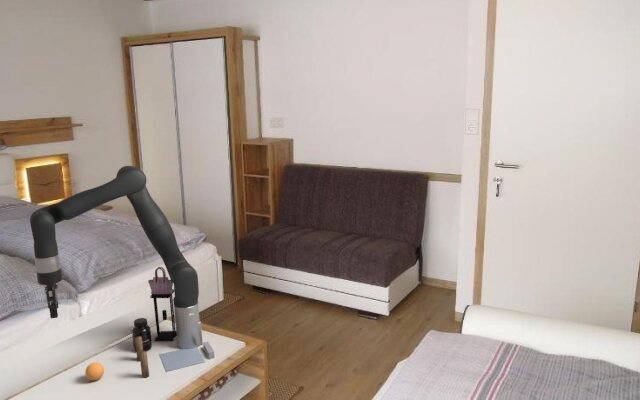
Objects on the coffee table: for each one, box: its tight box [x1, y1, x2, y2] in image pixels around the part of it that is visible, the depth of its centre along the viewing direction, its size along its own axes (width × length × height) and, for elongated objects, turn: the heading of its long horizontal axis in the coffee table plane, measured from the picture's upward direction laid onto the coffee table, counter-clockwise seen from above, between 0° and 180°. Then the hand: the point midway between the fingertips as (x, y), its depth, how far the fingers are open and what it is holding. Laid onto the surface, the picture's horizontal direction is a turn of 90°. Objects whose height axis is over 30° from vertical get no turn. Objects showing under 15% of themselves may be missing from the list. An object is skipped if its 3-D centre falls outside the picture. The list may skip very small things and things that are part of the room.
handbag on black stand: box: [147, 266, 177, 342], centre depth 211 cm, size 10×8×30 cm
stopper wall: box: [202, 341, 215, 360], centre depth 200 cm, size 2×9×2 cm, turn 26°
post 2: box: [140, 351, 150, 379], centre depth 184 cm, size 2×2×9 cm
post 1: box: [135, 336, 143, 363], centre depth 195 cm, size 2×2×9 cm
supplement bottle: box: [131, 317, 153, 352], centre depth 203 cm, size 7×7×12 cm
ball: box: [84, 362, 105, 382], centre depth 183 cm, size 6×6×6 cm
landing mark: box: [159, 347, 206, 373], centre depth 197 cm, size 14×14×1 cm
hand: (54, 313), depth 180 cm, fingers open, 8 cm apart
